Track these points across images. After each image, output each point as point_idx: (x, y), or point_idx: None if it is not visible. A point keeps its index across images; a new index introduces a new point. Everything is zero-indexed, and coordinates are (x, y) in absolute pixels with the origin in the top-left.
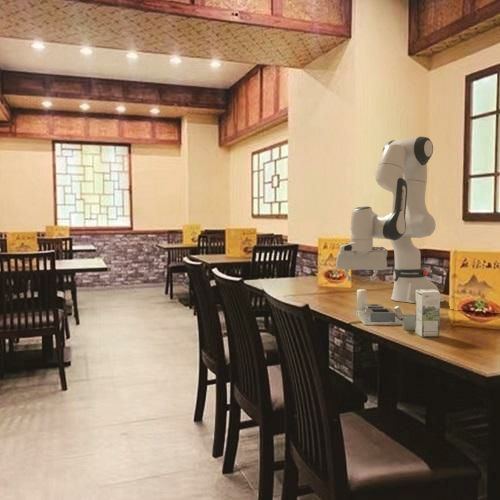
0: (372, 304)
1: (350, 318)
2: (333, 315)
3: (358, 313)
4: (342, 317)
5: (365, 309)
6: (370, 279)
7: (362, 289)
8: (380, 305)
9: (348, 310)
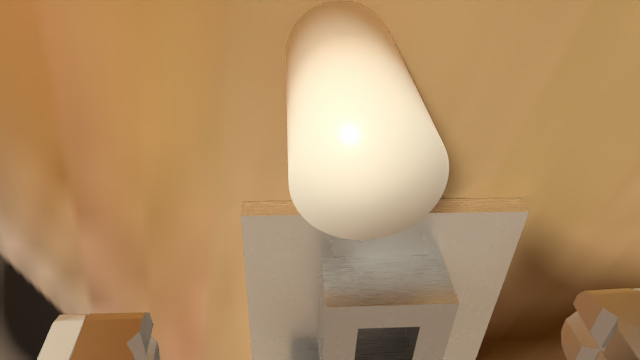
0: (380, 326)
1: (195, 344)
2: (66, 276)
3: (255, 310)
4: None
5: (322, 278)
6: (595, 302)
7: (396, 124)
8: (429, 355)
9: (189, 97)
